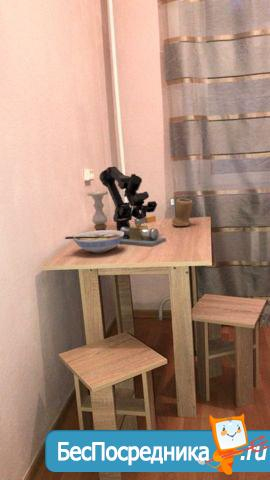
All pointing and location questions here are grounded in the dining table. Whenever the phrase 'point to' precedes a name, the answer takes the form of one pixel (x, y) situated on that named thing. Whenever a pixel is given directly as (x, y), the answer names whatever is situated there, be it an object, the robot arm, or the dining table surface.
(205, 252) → the dining table surface
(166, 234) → the dining table surface
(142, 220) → the valve lever
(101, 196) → the candle holder
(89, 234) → the ramen bowl
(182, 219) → the stone cup
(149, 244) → the valve assembly
